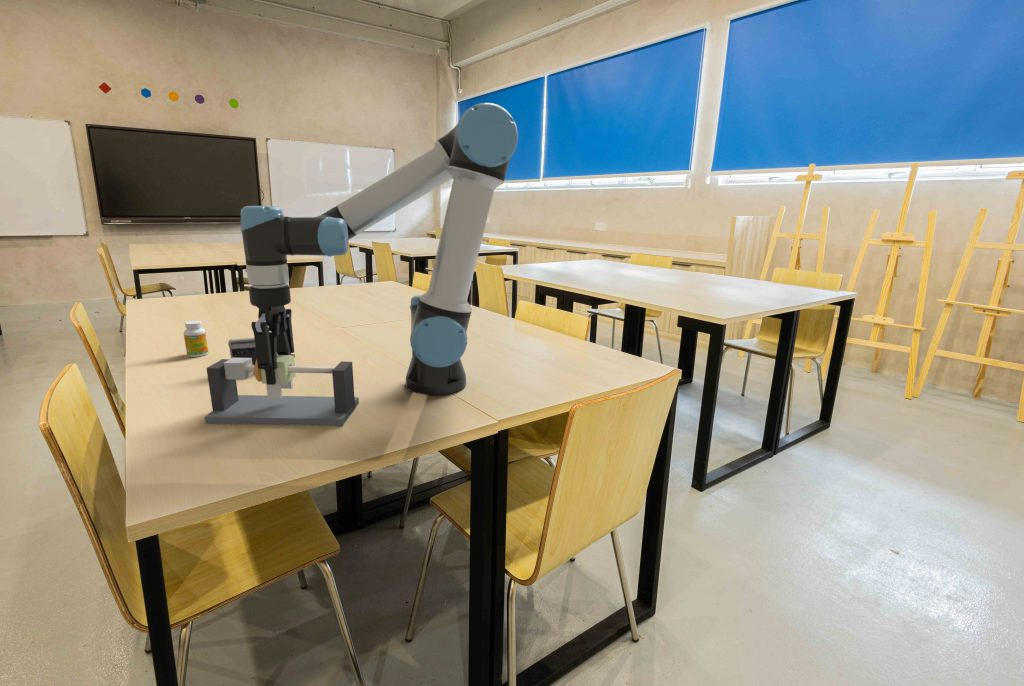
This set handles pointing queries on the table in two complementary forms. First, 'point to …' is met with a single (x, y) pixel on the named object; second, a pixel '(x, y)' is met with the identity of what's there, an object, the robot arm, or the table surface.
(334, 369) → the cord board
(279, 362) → the pale green sliding cube
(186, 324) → the supplement bottle
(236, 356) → the electrical switch
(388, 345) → the table surface
